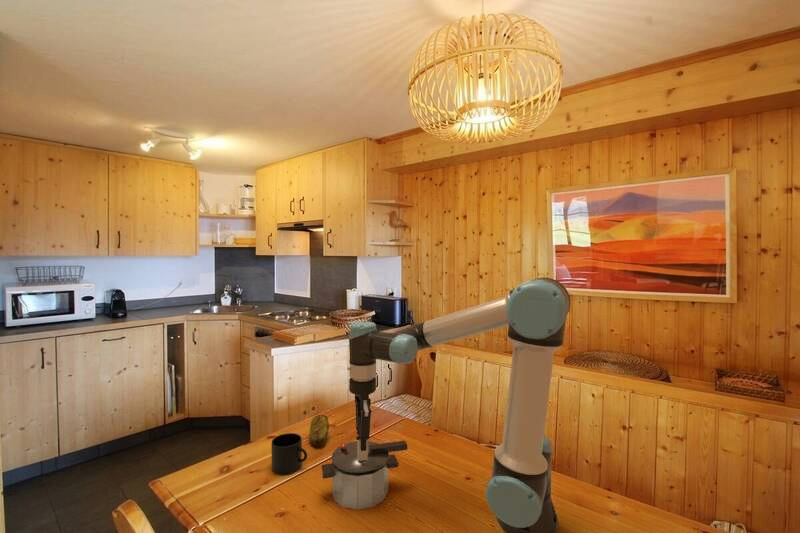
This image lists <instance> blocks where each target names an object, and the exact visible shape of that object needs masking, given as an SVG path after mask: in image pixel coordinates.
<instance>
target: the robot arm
mask: <svg viewBox="0 0 800 533" xmlns="http://www.w3.org/2000/svg"><path fill="white" fill-rule="evenodd" d="M571 303H572V302H571V296H570V293H569V291H568V289H567V288H566V286H564V284H562V283H561V282H559V281H558V280H557V279H554V278H550V277H538V278H534V279H529V280H527V281H524V282H522V283H521V284H519V285H517V286H516V287H515V288H514V289H512V290H510V291H508V292H507V294H506V295H505V296H503V297H499V298H496V299H493V300H490V301H486V302H484V303H481V304H477V305H473V306H471V307H467V308H464V309H462V310H457V311H454V312H452V313H449V314H445V315H441V316H439V317H435V318H433V319H429V320H426V321H423V322H420V323H419V322H418V323H414V324H411V325H410V326H407V327H405V328H402V329H399V330H397V331H394V332H383V331H379V330H377V325H376V323H375V322H372V321H356V322H353V323H351V324H350V326H349V334H348V344H349V345H348V347H349V350H348V351H349V364H348V366H347V368H346V370H347V371H349V373H348V374H349V377H350V378H349V379H348V380H349V382H348V383H349V384H348V387H349V388H348V391H349V392H350V394H353V395H354V402H355V430H356V435H357V436H356V437H355V438H356V440H355V441H357V459H358V461H365V460H368V441H369V440H370V439H371V438H370V431H371V429H370V428H371V418H372V416H371V415H372V412H373V411H372V408H370V407H371V404H372V400H371V398H370V395H371V394H373V393H375V391H376V390H377V378H376V376H377V360H378V361H379V360H380V361H385V362H392V363H395V364H398V365H399V364H407V365H408V364H411V363H413V362H414V361H415V359H416V357H417V355H418V352H420V351H422V350H426V349H429V348H432V347H435V346H439V345H443V344H447V343H450V342H454V341H458V340H462V339H465V338H469V337H473V336H476V335H480V334H483V333H484V334H485V333H488V332H493V331H495V330H499V329H502V328H505V327H508V328H507V338H508V339H509V341H510V342H511V344H512V345H513V348H512V355H511V363H510V364H511V365H510V373H509V383H508V390H507V391H508V392H507V399H506V409H505V417H504V418H505V419H504V427H503V433H502V434H503V435H502V443H500V444H499V445H497V446H496V447H495V449H494V454H493V462H492V472H491V477H490V479H489V480H488V482H487V483H486V484H487V485H486V490H485V499H486V502H487V505H488V508H489V509H490V510H491V511H492V513H493V514H494V515H495V517H496V519H497V522H498V524H499V526H501V528H502V529H503V530H504V531H505V532H506V533H558V527H559V525H558V524H559V523H558V522H559V520H558V515H557V512H556V510H555V506H554V503H553V500H552V455H553V452H554V450H553V449H552V442H551V440H550V439H549V438H548V437H547V436H545V432H546V431H545V430H546V423H547V422H546V421H547V414H548V406H549V397H550V388H551V383H552V382H551V381H552V373H553V366H554V357H555V356H554V355H555V352H556V351H558V350H559V349H561V348H562V347H563V346H564V338H565V332H566V331H565V330H566V323H567V316H568V314H569V312H570V309H571Z"/></svg>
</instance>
